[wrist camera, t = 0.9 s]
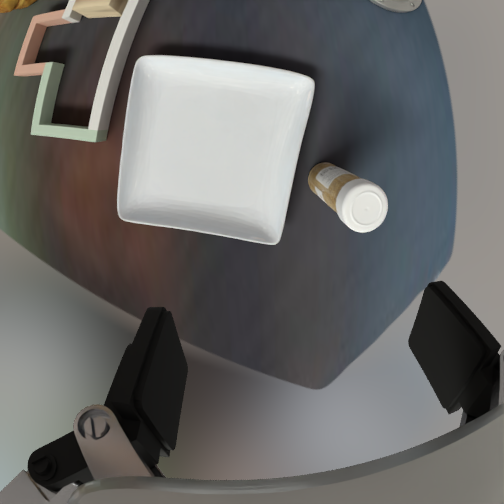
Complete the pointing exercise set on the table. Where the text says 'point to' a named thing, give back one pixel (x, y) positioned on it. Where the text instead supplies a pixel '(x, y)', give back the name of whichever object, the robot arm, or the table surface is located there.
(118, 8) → the block
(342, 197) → the sprinkles bottle
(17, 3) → the bread roll
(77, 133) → the pastel wall shelf
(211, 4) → the table surface
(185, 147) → the salad plate
